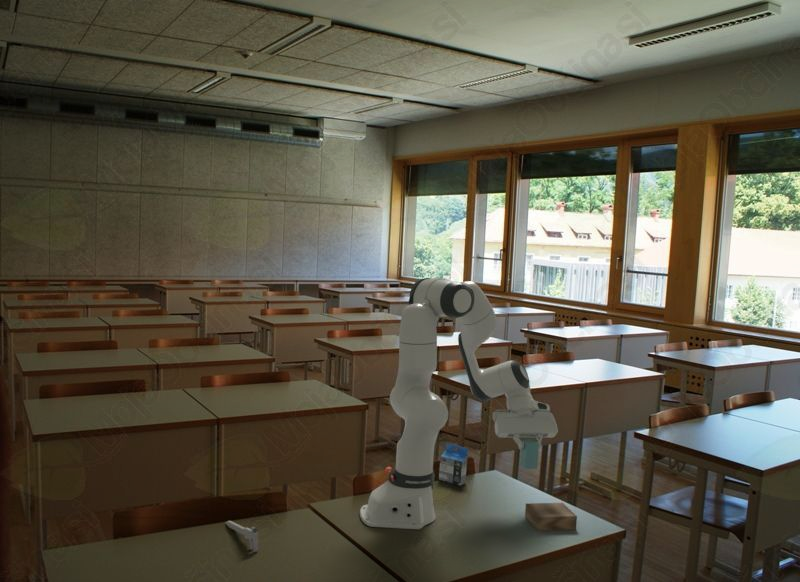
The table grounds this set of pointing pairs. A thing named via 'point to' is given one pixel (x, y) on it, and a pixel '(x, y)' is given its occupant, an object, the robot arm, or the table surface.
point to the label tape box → (453, 465)
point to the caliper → (246, 534)
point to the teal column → (529, 454)
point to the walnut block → (550, 516)
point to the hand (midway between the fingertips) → (530, 448)
